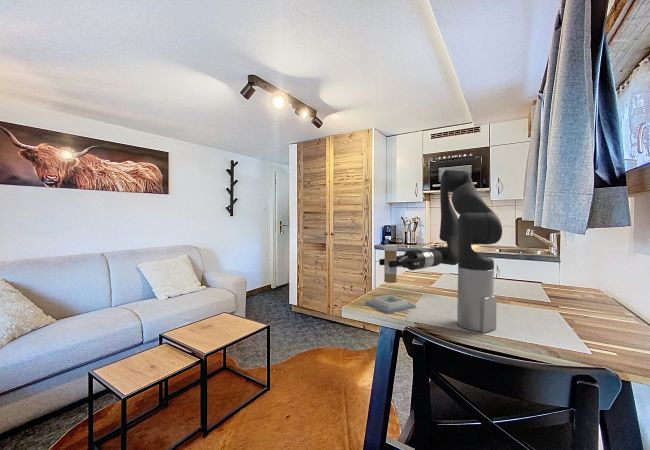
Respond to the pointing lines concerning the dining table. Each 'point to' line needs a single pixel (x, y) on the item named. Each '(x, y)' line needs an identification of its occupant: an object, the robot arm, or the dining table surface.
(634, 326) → the dining table surface
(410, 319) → the dining table surface
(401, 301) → the grey stepped square plate
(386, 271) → the sprinkles bottle
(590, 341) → the dining table surface
